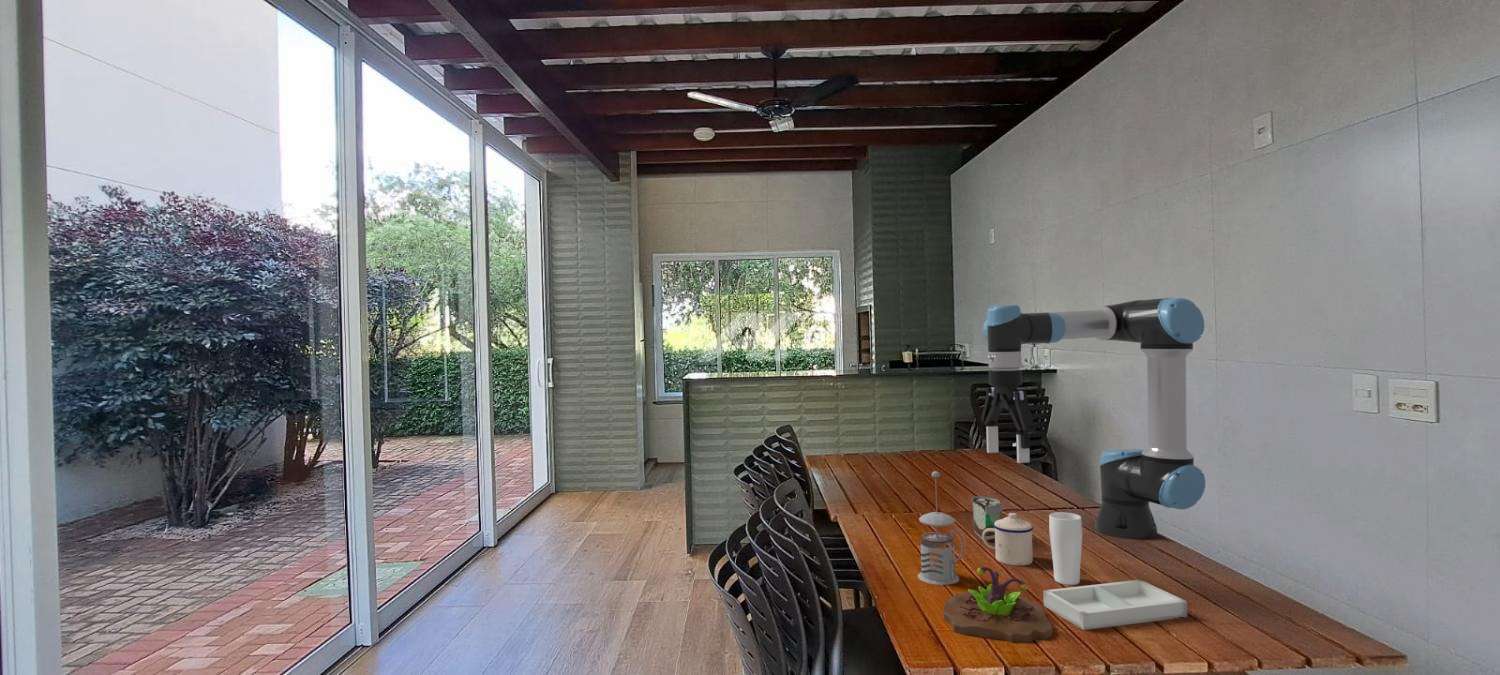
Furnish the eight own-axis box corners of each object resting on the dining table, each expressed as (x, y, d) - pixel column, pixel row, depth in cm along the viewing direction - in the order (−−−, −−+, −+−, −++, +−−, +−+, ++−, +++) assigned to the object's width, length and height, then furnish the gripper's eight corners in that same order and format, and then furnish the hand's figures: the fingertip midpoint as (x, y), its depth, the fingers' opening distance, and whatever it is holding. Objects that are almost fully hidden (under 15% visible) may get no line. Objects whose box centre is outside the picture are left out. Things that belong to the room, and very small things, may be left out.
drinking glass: (1081, 589, 147) (1080, 521, 147) (1048, 584, 150) (1046, 517, 150) (1085, 579, 153) (1083, 514, 152) (1052, 574, 156) (1051, 510, 156)
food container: (1010, 543, 180) (1009, 506, 180) (987, 543, 180) (986, 506, 180) (994, 529, 192) (993, 495, 192) (972, 530, 192) (971, 495, 192)
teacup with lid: (1036, 557, 168) (1034, 511, 168) (1031, 568, 160) (1029, 520, 160) (986, 550, 174) (985, 506, 174) (979, 561, 166) (978, 514, 166)
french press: (930, 567, 163) (927, 465, 163) (975, 579, 155) (972, 471, 155) (908, 579, 156) (905, 472, 156) (954, 591, 148) (951, 478, 148)
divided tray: (1140, 596, 142) (1140, 579, 142) (1187, 619, 131) (1186, 601, 131) (1043, 607, 138) (1043, 590, 138) (1083, 632, 126) (1082, 613, 126)
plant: (940, 600, 144) (939, 548, 144) (1037, 606, 140) (1036, 552, 140) (946, 642, 125) (945, 582, 125) (1059, 650, 120) (1057, 588, 120)
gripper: (965, 367, 173) (967, 449, 173) (1019, 372, 148) (1022, 467, 149) (992, 366, 174) (994, 447, 174) (1050, 371, 150) (1053, 465, 150)
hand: (1007, 457), depth 161 cm, fingers open, 13 cm apart
